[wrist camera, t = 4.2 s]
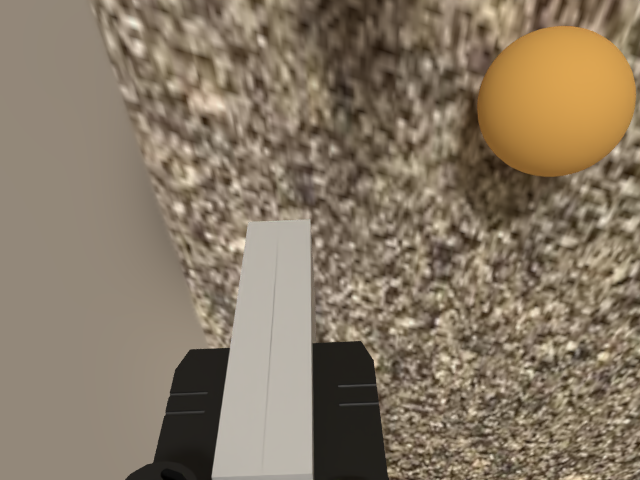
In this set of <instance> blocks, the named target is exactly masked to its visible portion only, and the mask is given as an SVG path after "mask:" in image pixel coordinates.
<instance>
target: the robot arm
mask: <svg viewBox="0 0 640 480" xmlns="http://www.w3.org/2000/svg"><path fill="white" fill-rule="evenodd" d="M125 480H389V478H388V474H387V466H386V458H385V450H384V442H383V434H382V425H381V417H380V409H379V401H378V393H377V387H376V377H375V368H374V360H373V359H372V357H371V356H370V354H369V353H368V351H367V350H366V348H365V347H364V345H363V343H362V342H361V341H353V342H328V343H316V317H315V290H314V273H313V257H312V240H311V224H310V219H307V220H284V221H261V222H248V228H247V235H246V242H245V249H244V256H243V263H242V270H241V276H240V283H239V290H238V297H237V304H236V311H235V318H234V325H233V332H232V339H231V346H230V348H216V349H192V350H189V352H188V353H187V354H186V356H185V357H184V359H183V360H182V361H181V363H180V364H179V365H178V367H177V368H176V370H175V373H174V377H173V382H172V386H171V390H170V397H169V399H168V403H167V407H166V415H165V416H164V420H163V424H162V428H161V432H160V436H159V440H158V445H157V449H156V454H155V457H154V462H153V463H152V464H147V465H145V466H144V467H142V468H140V469H138V470H137V471H135V472H133V473H131V474H130V475H129V476H128V477H127V478H126V479H125Z"/></svg>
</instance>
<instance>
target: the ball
mask: <svg viewBox="0 0 640 480" xmlns="http://www.w3.org/2000/svg"><path fill="white" fill-rule="evenodd" d="M635 100H636V87H635V81H634V77H633V73H632V70H631V68H630V65H629V64H628V62H627V60H626V58H625V57H624V55H623V54H622V53H621V52H620V50H619V49H618V48H617V47H616V46H615V45H614V44H613V43H612V42H610V41H609V40H608V39H606V38H605V37H603V36H601V35H599V34H597V33H595V32H593V31H590V30H587V29H584V28H579V27H573V26H557V27H548V28H544V29H540V30H537V31H534V32H531V33H529V34H527V35H525V36H523V37H521V38H519V39H518V40H516V41H515V42H513V43H512V44H510V45H509V46H508V47H507V48H505V49H504V50H503V51H502V52H501V53H500V54H499V55H498V56H497V58H496V59H495V60H494V61H493V63H492V64H491V66H490V67H489V69H488V70H487V72H486V74H485V76H484V78H483V81H482V84H481V87H480V90H479V95H478V103H477V112H478V121H479V126H480V129H481V132H482V134H483V137H484V139H485V141H486V143H487V144H488V146H489V147H490V149H491V150H492V151H493V152H494V153H495V155H496V156H497V157H499V158H500V159H501V160H502V161H503V162H505V163H506V164H507V165H509V166H511V167H512V168H514V169H516V170H519V171H521V172H523V173H527V174H531V175H536V176H543V177H555V176H563V175H568V174H572V173H576V172H579V171H581V170H584V169H586V168H588V167H590V166H592V165H594V164H595V163H597V162H598V161H600V160H601V159H603V158H604V157H605V156H606V155H608V154H609V153H610V152H611V151H612V150H613V149H614V148H615V146H616V145H617V144H618V143H619V142H620V140H621V139H622V137H623V136H624V134H625V132H626V130H627V129H628V127H629V125H630V122H631V119H632V117H633V113H634V109H635Z"/></svg>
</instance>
